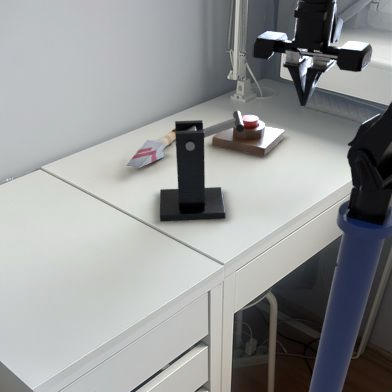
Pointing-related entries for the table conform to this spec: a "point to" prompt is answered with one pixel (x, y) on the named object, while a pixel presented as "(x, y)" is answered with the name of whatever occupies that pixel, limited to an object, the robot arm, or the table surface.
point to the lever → (222, 126)
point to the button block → (249, 139)
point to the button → (250, 121)
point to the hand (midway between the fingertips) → (303, 105)
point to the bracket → (191, 180)
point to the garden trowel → (151, 151)
